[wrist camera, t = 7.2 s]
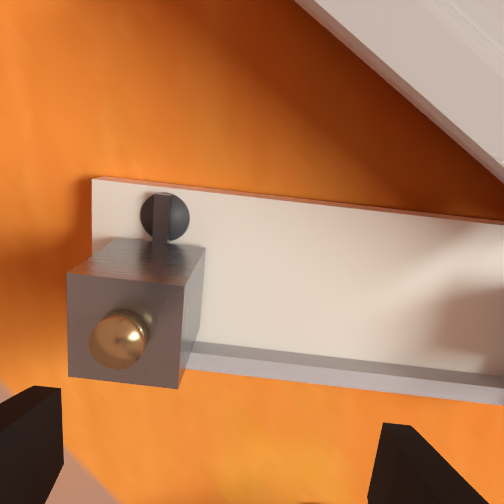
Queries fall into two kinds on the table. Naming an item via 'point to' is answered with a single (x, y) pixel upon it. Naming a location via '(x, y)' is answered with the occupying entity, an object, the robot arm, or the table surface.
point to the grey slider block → (136, 308)
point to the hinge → (433, 61)
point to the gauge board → (332, 288)
